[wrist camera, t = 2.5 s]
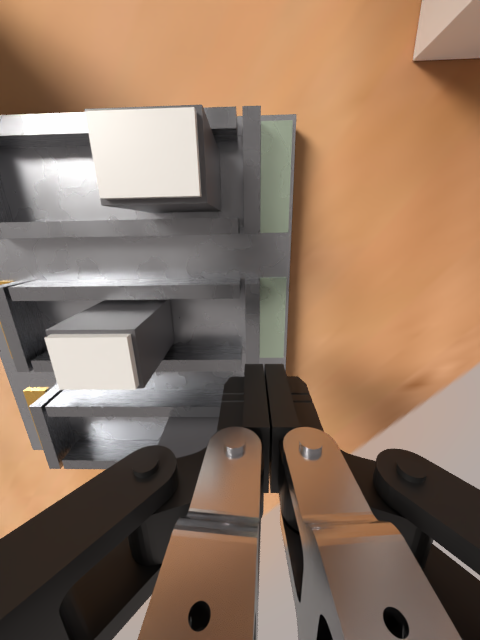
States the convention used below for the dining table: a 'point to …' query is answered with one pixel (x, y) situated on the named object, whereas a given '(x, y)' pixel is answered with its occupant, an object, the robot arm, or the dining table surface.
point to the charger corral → (448, 30)
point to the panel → (140, 278)
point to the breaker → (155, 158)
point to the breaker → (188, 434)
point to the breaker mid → (111, 345)
